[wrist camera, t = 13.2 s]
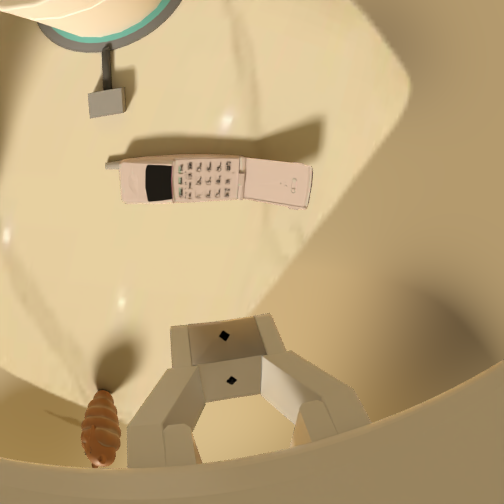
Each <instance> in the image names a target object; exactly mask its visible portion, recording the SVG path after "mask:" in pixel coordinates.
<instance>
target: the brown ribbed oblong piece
mask: <svg viewBox="0 0 504 504" xmlns="http://www.w3.org/2000/svg"><path fill="white" fill-rule="evenodd" d="M81 427H82V434H81V440H82V447H83V448H84V449H85V453H86V455H87V457H88V459H89V460H90V461H91V462H92V468H98V466H103V467H105V466H109V465H111V464H112V463H113V462H114V460H115V456H116V451H117V450H118V449H119V447H120V436H121V430H120V428H119V421H118V417H117V409H116V407H115V406H114V401H113V398H112V396H111V394H110V393H109V392H107V391H105V390H100V391H98V392H97V393H96V394H95V396H94V398H93V400H92V401H91V402H90V403H89V404H88V409H87V410H86V412H85V420H84V421H83V422H82V425H81Z"/></svg>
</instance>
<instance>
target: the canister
mask: <svg viewBox="0 0 504 504" xmlns="http://www.w3.org/2000/svg"><path fill="white" fill-rule="evenodd" d="M161 1H162V0H0V11H2V12H6V13H10V14H13V15H16V16H20V17H23V18H27V19H30V20H33V21H36V22H39V23H42V24H45V25H48V26H51V27H54V28H57V29H60V30H63V31H66V32H68V33H71V34H74V35H77V36H80V37H103V36H107V35H111V34H115V33H119V32H122V31H124V30H126V29H128V28H130V27H131V26H133V25H135V24H137V23H139V22H141V21H142V20H143V19H144V18H145V17H146V16H148V15H149V14H150V13H151V12H152V11H154V10H155V9H156V8H157V6H158V5H159V4H160V2H161Z"/></svg>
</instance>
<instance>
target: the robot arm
mask: <svg viewBox="0 0 504 504" xmlns="http://www.w3.org/2000/svg"><path fill="white" fill-rule="evenodd" d="M170 338H171V355H172V368H171V369H167V370H166V372H165V373H164V375H163V376H162V377H161V379H160V380H159V382H158V383H157V385H156V386H155V387H154V389H153V390H152V392H151V393H150V394H149V396H148V397H147V399H146V400H145V402H144V403H143V404H142V406H141V407H140V409H139V410H138V412H137V413H136V414H135V416H134V417H133V419H132V420H131V422H130V423H129V424H128V426H127V463H128V468H127V469H126V468H123V469H122V468H121V469H120V468H118V469H117V468H83V467H67V466H56V465H46V464H38V463H31V462H23V461H18V460H12V459H6V458H1V457H0V504H504V359H503V360H502V361H500V362H499V363H497V364H495V365H494V366H492V367H490V368H489V369H487V370H485V371H483V372H482V373H480V374H478V375H476V376H474V377H473V378H471V379H469V380H467V381H465V382H464V383H462V384H460V385H458V386H456V387H454V388H452V389H450V390H448V391H446V392H444V393H442V394H440V395H438V396H436V397H433V398H431V399H429V400H427V401H425V402H423V403H420V404H418V405H416V406H414V407H411V408H409V409H407V410H404V411H402V412H399V413H397V414H394V415H392V416H390V417H387V418H384V419H382V420H379V421H376V422H374V423H371V421H370V419H369V417H368V415H367V413H366V411H365V410H364V408H363V406H362V404H361V402H360V400H359V398H358V396H357V394H356V392H355V391H354V389H353V388H352V387H350V386H348V385H346V384H344V383H343V382H341V381H340V380H338V379H336V378H335V377H333V376H332V375H330V374H328V373H327V372H325V371H323V370H321V369H320V368H318V367H317V366H315V365H313V364H312V363H310V362H309V361H307V360H306V359H304V358H302V357H301V356H299V355H297V354H296V353H294V352H293V351H286V349H285V346H284V344H283V342H282V339H281V337H280V334H279V332H278V330H277V327H276V325H275V322H274V320H273V318H272V315H271V314H270V313H267V314H261V315H255V316H250V317H243V318H237V319H230V320H223V321H216V322H207V323H197V324H188V325H180V326H171V328H170ZM257 394H261V396H263V397H264V398H265V399H266V400H267V401H268V402H269V403H270V404H271V405H273V406H274V407H275V408H276V409H277V410H279V411H280V412H281V413H282V414H283V415H284V416H285V417H286V418H288V419H289V420H290V421H291V422H293V424H295V428H294V432H293V436H292V440H291V444H290V448H287V449H282V450H278V451H274V452H268V453H264V454H259V455H254V456H249V457H243V458H237V459H231V460H224V461H218V462H210V463H202V460H201V457H200V454H199V452H198V449H197V446H196V443H195V440H194V438H193V434H192V432H193V430H194V428H195V426H196V424H197V421H198V419H199V417H200V415H201V413H202V411H203V409H204V407H205V403H206V402H212V401H218V400H224V399H230V398H236V397H243V396H250V395H257Z"/></svg>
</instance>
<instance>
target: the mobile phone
mask: <svg viewBox="0 0 504 504" xmlns="http://www.w3.org/2000/svg"><path fill="white" fill-rule="evenodd" d="M105 168H106V169H119V174H120V189H121V200H122V202H123V203H125V204H162V203H185V202H203V201H220V200H237V199H238V200H243V199H248V200H254V201H259V202H265V203H270V204H275V205H281V206H286V207H288V208H290V209H296V210H298V209H303V210H305V209H307V207H308V203H309V198H310V193H311V187H312V177H313V168H312V166H308V165H304V164H303V163H297V162H293V163H289V162H281V161H273V160H264V159H255V158H245V157H244V156H240V155H217V154H181V155H161V156H148V157H136V158H128V159H124V160H120V161H114V162H108V163H106V164H105Z"/></svg>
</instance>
